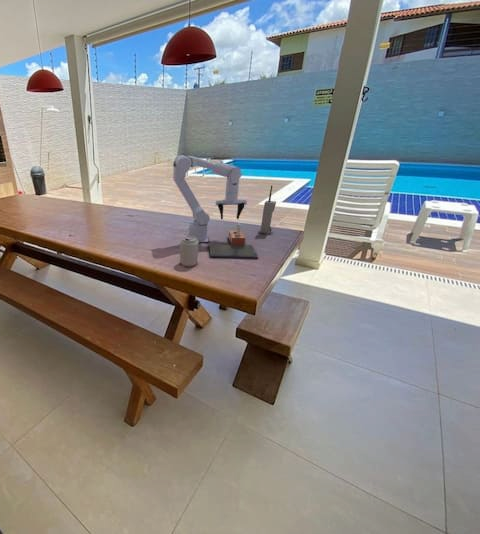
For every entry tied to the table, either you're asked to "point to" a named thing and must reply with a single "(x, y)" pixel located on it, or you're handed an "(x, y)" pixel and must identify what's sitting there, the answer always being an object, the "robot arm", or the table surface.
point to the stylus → (238, 230)
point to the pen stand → (236, 238)
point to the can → (189, 251)
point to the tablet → (232, 251)
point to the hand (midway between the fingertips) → (229, 218)
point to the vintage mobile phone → (267, 215)
